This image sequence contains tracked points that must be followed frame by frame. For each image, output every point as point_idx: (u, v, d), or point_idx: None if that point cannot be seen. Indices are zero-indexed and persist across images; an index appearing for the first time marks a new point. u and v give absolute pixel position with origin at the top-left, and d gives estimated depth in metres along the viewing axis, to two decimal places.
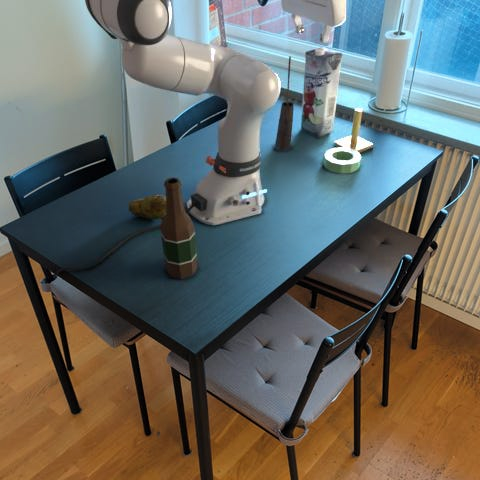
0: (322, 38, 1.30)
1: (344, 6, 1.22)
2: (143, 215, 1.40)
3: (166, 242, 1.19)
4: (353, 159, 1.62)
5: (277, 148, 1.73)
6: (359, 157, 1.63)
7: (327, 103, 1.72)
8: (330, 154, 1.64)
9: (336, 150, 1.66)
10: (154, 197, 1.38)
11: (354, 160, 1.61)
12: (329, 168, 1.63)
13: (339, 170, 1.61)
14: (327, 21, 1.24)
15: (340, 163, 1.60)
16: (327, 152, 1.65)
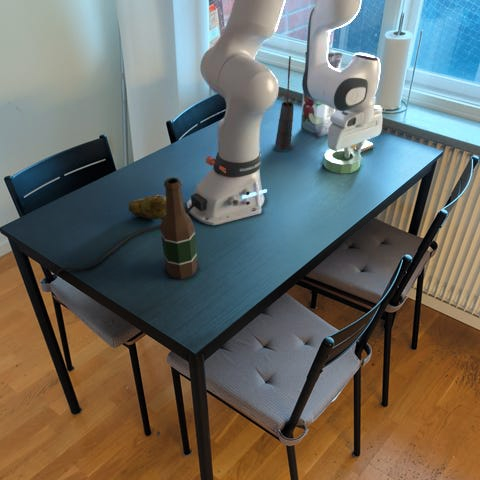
0: None
1: (335, 139, 1.55)
2: (143, 215, 1.40)
3: (166, 242, 1.19)
4: (353, 159, 1.62)
5: (277, 148, 1.73)
6: (359, 157, 1.63)
7: None
8: (330, 154, 1.64)
9: None
10: (154, 197, 1.38)
11: (354, 160, 1.61)
12: (329, 168, 1.62)
13: (339, 170, 1.61)
14: None
15: (340, 163, 1.60)
16: (327, 152, 1.65)
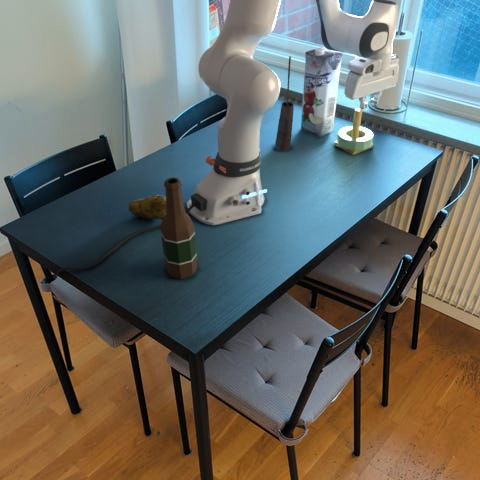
0: None
1: (353, 87, 1.57)
2: (143, 215, 1.40)
3: (166, 242, 1.19)
4: (366, 137, 1.70)
5: (277, 148, 1.73)
6: (371, 135, 1.71)
7: (327, 103, 1.72)
8: (344, 132, 1.73)
9: (349, 129, 1.75)
10: (154, 197, 1.38)
11: (367, 137, 1.70)
12: (343, 145, 1.71)
13: (352, 147, 1.69)
14: None
15: (353, 140, 1.68)
16: (341, 130, 1.74)
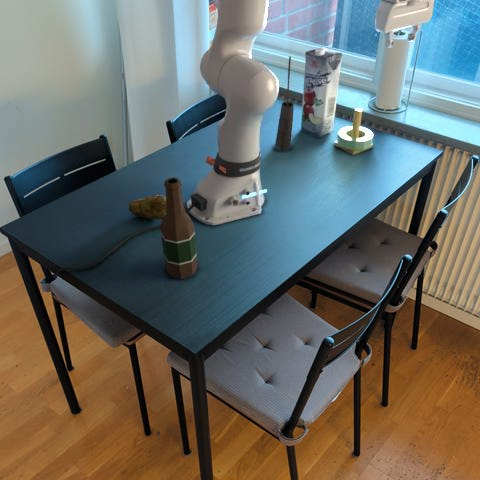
0: None
1: (385, 18, 1.43)
2: (143, 215, 1.40)
3: (166, 242, 1.19)
4: (366, 137, 1.70)
5: (277, 148, 1.73)
6: (371, 135, 1.71)
7: (327, 103, 1.72)
8: (344, 132, 1.73)
9: (349, 129, 1.75)
10: (154, 197, 1.38)
11: (367, 137, 1.70)
12: (343, 145, 1.71)
13: (352, 147, 1.69)
14: None
15: (353, 140, 1.68)
16: (341, 130, 1.74)
